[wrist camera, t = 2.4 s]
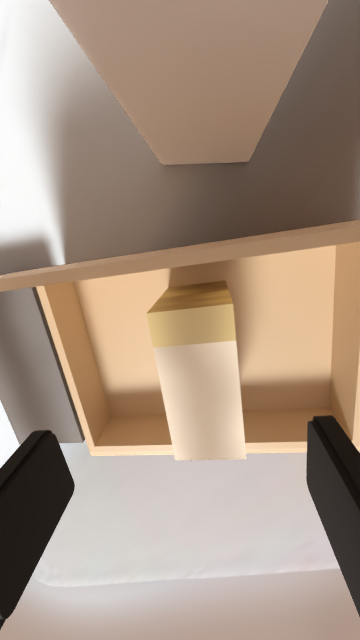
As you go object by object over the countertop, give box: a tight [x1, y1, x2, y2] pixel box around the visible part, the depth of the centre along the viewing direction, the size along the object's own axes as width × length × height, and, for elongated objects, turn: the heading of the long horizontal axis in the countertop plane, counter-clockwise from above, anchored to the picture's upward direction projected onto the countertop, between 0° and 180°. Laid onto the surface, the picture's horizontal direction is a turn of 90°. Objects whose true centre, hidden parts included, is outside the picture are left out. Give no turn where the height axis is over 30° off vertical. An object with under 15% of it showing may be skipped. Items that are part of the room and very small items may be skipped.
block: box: [146, 280, 246, 460], centre depth 18 cm, size 4×10×7 cm, turn 9°
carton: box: [0, 220, 360, 456], centre depth 15 cm, size 21×16×12 cm
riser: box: [0, 287, 85, 444], centre depth 22 cm, size 6×15×3 cm, turn 8°
